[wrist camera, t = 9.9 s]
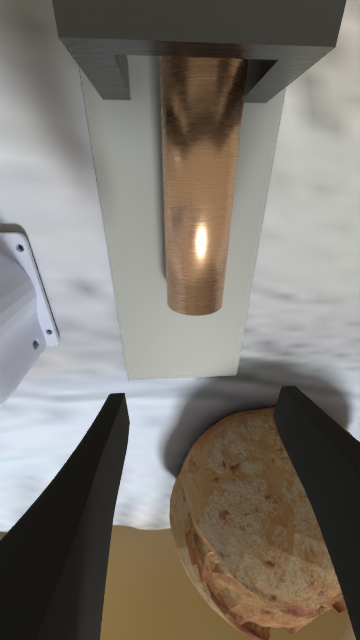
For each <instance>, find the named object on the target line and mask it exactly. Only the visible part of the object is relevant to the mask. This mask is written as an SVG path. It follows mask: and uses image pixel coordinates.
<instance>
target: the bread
mask: <svg viewBox="0 0 360 640" xmlns="http://www.w3.org/2000/svg"><path fill="white" fill-rule="evenodd" d="M275 407H276V406H275ZM275 407H269V408H264V409H254V410H247V411H243V412H238V413H235V414H232V415H229V416H227V417H224V418H223V419H221V420H220V421H218V422H217V423H215V424H214V425H213V426H211V427H210V428H209V429H207V430H206V431H205V432H204V433H203V434H202V435H201V436H200V437H199V438H198V439H197V440H196V442H195V443H194V444H193V445H192V447H191V449H190V451H189V453H188V455H187V457H186V459H185V461H184V463H183V465H182V467H181V471H180V473H179V475H178V477H177V479H176V481H175V484H174V486H173V490H172V494H171V499H170V526H171V532H172V536H173V539H174V543H175V546H176V549H177V551H178V554H179V557H180V559H181V562H182V564H183V567H184V569H185V571H186V573H187V575H188V577H189V579H190V581H191V582H192V583H193V585H194V586H195V588H196V589H197V590H198V592H199V593H200V594H201V596H202V597H203V598H204V599H205V600H206V602H207V603H208V604H209V605H210V606H211V608H212V609H213V610H215V611H216V612H217V613H218V614H219V615H220V616H222V617H223V618H224V619H225V620H226V621H227V622H228V623H230V624H231V625H232V626H233V627H234V628H235V629H237V630H239V631H240V632H242V633H244V634H246V635H247V636H249V637H250V638H252V639H253V640H269V638H270V632H269V631H270V629H271V627H281V628H282V629H283V630H284V631H286V632H287V633H295V632H297V631H298V630H299V629H300V628H301V627H303V626H306V625H308V624H309V623H310V622H311V621H312V620H313V619H314V618H316V617H318V616H319V615H321V614H322V613H324V612H326V611H328V610H329V609H331V608H332V607H334V608H335V609H336V610H337V611H338V612H339V613H340V612H343V611H346V612H348V611H347V607H346V604H345V601H344V598H343V594H342V591H341V588H340V585H339V582H338V579H337V576H336V573H335V570H334V567H333V564H332V561H331V558H330V555H329V553H328V550H327V547H326V544H325V541H324V538H323V536H322V533H321V530H320V527H319V525H318V522H317V519H316V517H315V514H314V511H313V509H312V506H311V504H310V501H309V499H308V497H307V494H306V492H305V490H304V488H303V486H302V484H301V481H300V479H299V477H298V475H297V473H296V471H295V469H294V467H293V464H292V462H291V460H290V458H289V456H288V454H287V452H286V449H285V447H284V445H283V443H282V441H281V439H280V436H279V433H278V430H277V427H276V424H275V421H274V418H273V413H274V410H275ZM342 428H343V427H342ZM343 429H344V428H343ZM344 430H345V429H344ZM346 431H347V430H346ZM347 432H348V431H347ZM348 433H349V432H348ZM349 434H350V433H349ZM350 435H351V434H350Z"/></svg>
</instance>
